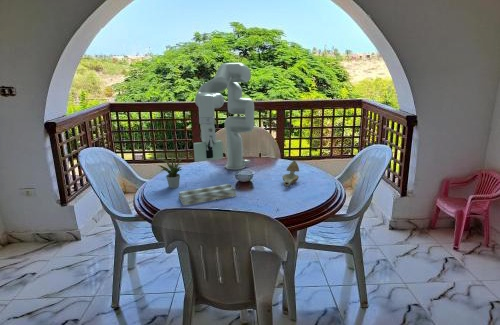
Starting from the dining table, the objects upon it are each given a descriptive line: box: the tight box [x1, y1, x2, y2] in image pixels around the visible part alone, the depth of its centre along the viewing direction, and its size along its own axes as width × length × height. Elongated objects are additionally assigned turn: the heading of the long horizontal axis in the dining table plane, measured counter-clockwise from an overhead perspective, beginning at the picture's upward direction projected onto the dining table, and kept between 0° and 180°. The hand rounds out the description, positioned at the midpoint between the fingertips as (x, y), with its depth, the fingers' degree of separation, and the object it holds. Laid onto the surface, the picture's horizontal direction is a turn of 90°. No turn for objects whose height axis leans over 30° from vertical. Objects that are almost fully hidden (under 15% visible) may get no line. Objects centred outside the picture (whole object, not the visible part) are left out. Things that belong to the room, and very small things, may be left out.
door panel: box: [193, 139, 224, 163], centre depth 167 cm, size 14×2×9 cm, turn 113°
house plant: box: [157, 156, 186, 189], centre depth 178 cm, size 14×14×16 cm
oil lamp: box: [282, 159, 300, 187], centre depth 180 cm, size 9×21×10 cm, turn 162°
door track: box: [178, 183, 237, 206], centre depth 163 cm, size 26×10×4 cm, turn 114°
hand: (208, 157), depth 167 cm, fingers closed on door panel, 2 cm apart
